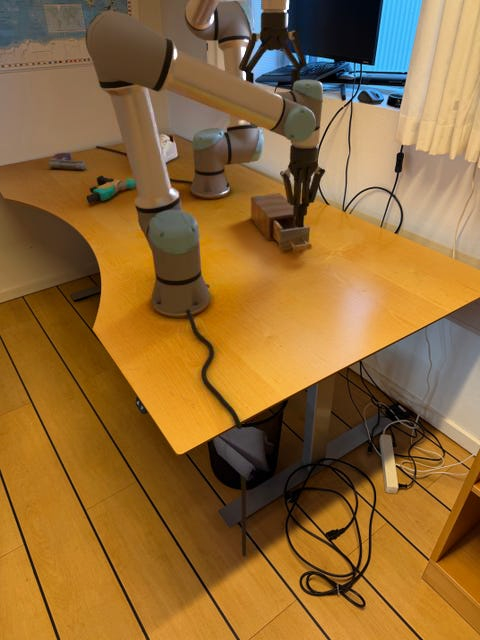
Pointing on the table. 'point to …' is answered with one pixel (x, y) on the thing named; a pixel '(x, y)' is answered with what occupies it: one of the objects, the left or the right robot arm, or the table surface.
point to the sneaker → (168, 147)
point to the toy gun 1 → (66, 162)
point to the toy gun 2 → (108, 188)
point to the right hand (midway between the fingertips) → (272, 95)
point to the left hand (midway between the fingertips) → (299, 225)
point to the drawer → (290, 234)
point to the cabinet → (269, 211)
